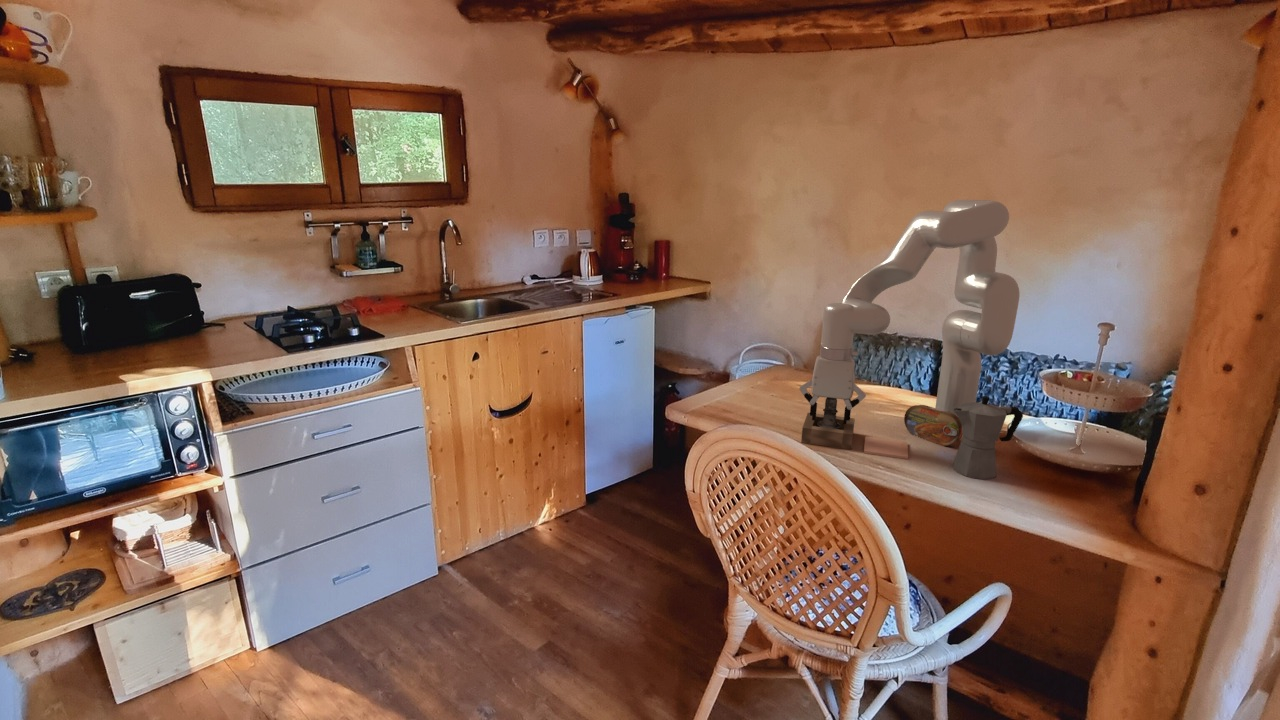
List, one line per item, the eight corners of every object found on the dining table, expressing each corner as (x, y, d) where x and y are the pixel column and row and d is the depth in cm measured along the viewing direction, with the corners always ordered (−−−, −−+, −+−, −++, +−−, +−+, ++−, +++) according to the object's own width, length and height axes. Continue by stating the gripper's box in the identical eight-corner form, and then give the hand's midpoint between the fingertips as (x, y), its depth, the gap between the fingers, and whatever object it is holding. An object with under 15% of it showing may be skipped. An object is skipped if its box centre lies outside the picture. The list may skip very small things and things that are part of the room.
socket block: (853, 432, 169) (854, 418, 168) (851, 449, 158) (852, 434, 157) (806, 426, 173) (807, 412, 172) (801, 442, 162) (802, 427, 161)
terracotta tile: (906, 444, 162) (907, 441, 162) (907, 459, 153) (908, 456, 153) (864, 438, 166) (865, 436, 165) (863, 452, 157) (863, 450, 156)
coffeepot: (954, 479, 143) (966, 402, 138) (935, 462, 152) (946, 389, 147) (1024, 480, 143) (1038, 403, 138) (1001, 463, 152) (1014, 390, 147)
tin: (901, 431, 171) (905, 401, 169) (909, 429, 173) (912, 399, 170) (955, 450, 159) (960, 418, 157) (962, 448, 161) (967, 416, 158)
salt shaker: (811, 435, 168) (815, 391, 164) (830, 432, 170) (834, 388, 166) (825, 443, 162) (829, 398, 159) (844, 440, 164) (849, 395, 161)
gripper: (873, 353, 160) (865, 420, 165) (801, 346, 166) (796, 411, 171) (872, 360, 154) (864, 430, 158) (798, 353, 159) (792, 420, 164)
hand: (829, 420), depth 165 cm, fingers open, 7 cm apart
